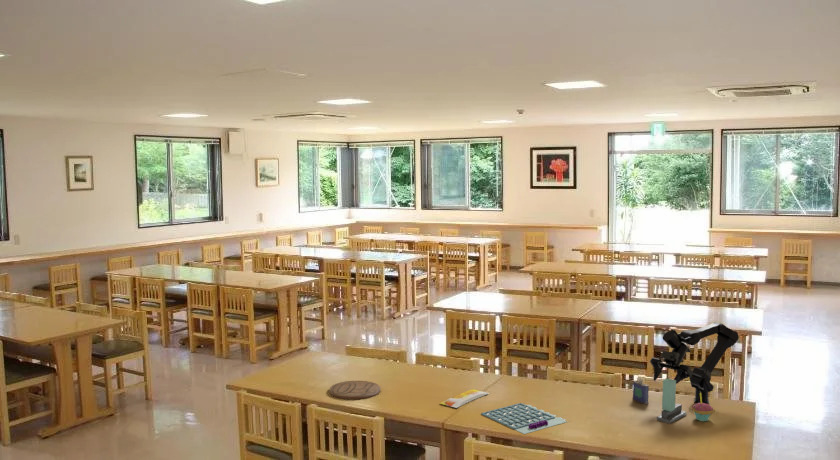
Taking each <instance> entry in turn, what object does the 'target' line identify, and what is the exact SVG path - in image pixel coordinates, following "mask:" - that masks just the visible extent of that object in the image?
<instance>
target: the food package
mask: <svg viewBox="0 0 840 460" xmlns="http://www.w3.org/2000/svg"><path fill="white" fill-rule="evenodd" d="M489 394H490V393H489V392H486V391H482V390H478V389H469V390H466V391H464V392H462V393H459V394H456V395H455V396H452V397H449V398H447V399H446V400H444V401H441V402H440V403H439V405H443V406H448V407H452V408H456V409H458V408H461V407H462V406H464V405H467V403H470V402H472V401H476V400H477V399H480V398H481V397H484V396H487V395H489Z"/></svg>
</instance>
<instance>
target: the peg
mask: <svg viewBox="0 0 840 460" xmlns="http://www.w3.org/2000/svg"><path fill="white" fill-rule="evenodd" d="M676 386H677V384H676V380H674V379H672V378H666V379H665V378H664V379H663V380H662V399H661V400H662V401H661V410H667V411H670V412H671V411H673V410H675V404H676V392H677V391H676V390H677V389H676V388H677V387H676Z"/></svg>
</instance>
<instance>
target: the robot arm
mask: <svg viewBox="0 0 840 460" xmlns="http://www.w3.org/2000/svg"><path fill="white" fill-rule="evenodd" d="M713 335H717V337H716V341H717V342H716V344H715V345H714V347H713V348H712V349H711V351H710V353H709V354H708V356H707V357H706V359H705V361H704V362H703V363H702V365H701V366H700V367H694V368H693V370H692V369H691V368H690V367H691V366H689V365H687V364H683V363H684V357H685V356H686V353H691V348H690V346H695V345H697V344H698V343H700V342H701V340H702V339H705V338H708V337H710V336H713ZM662 340H663V342H665V343H666V345H667V346H668V347H669V348H670V349H671V351H666V350H662V352H661V355H660V358H657V357H651V358H650V361H649V363H650V364H651V366H652V367H653V370H654V371H653V381H654V382H656V380H657V379H658V378H659V376H660V375H661V373H662V372H663V369H664V368H666V369H670V370H674V371H677V372H676V375H675V377H674V379H673V380H676V385H677V384H679V383H680V382H681V381H683V380H685V379H688V378H689V382H690V383H689V384H690V385H691V387H692V388H694V389H695V391H694V392H695V393H694V395H695V396H694V398H693V402H694V404H697V403H700V392H701V396H702V403H705V404H709V405H710V398H709V393H711V392H713V391H714V388H715V386H714V385H713V384H712V383H711V381H712V372H713V371H714V370H715V368H716V366H717V364H718V363H719V361H720V360H721V358H722V357H723V355H724V354H725V353H726V351H727V349H729V348H731V347H733V346H735V344H736V343H737V342H738V340H739V333H738V331H735V330H734V329H733V330H732V329H731V328H729V327H728V326H726V325H725V324H724V323H721V322H717V321H715V322H713V323H711V324H710V323H709V324H708V325H705V326H702V327H699V328H697V329H686V330H685V329H684V330H682V331H681V332H679V333H678V332H677V331H676V329H671V330H669V331H666V332H665V333H663V335H662ZM688 345H689V346H688ZM662 359H663V361H662Z"/></svg>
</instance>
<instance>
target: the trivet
mask: <svg viewBox="0 0 840 460" xmlns="http://www.w3.org/2000/svg"><path fill="white" fill-rule="evenodd" d="M328 391H329V393H328V394H329V395H330V396H332V397H334V398H336V399H339V400H348V401H352V400H353V401H357V400H367V399H370V398H374V397H376V396H378V395H380V393H381V386H380V385H379V384H378V383H376V382H373V381H368V380H348V381H347V380H345V381H341V382H338V383H335V384H333V385H331V386H330V387H329V390H328Z"/></svg>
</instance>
